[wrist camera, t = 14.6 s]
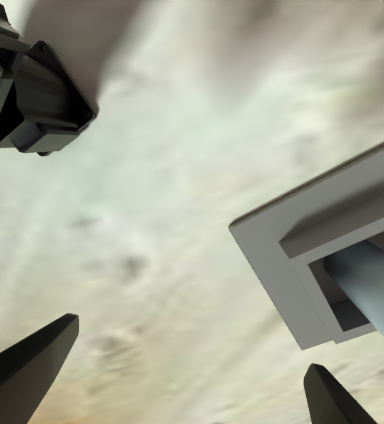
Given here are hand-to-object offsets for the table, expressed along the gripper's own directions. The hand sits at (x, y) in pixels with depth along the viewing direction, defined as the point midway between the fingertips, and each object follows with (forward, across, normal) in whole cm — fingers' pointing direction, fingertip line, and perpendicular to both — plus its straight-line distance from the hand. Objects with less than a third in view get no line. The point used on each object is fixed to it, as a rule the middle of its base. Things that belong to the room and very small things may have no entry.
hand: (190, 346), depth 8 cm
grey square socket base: (+13, -14, +1) cm, 19 cm away
